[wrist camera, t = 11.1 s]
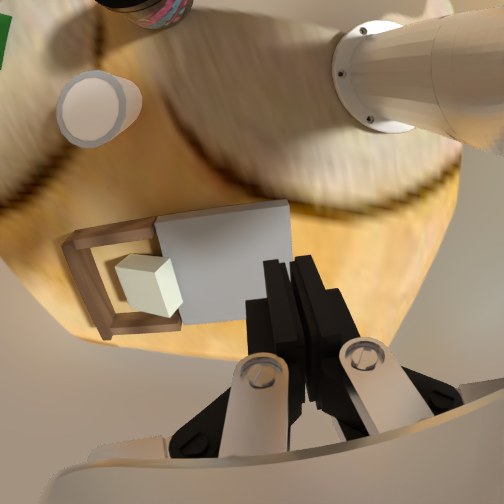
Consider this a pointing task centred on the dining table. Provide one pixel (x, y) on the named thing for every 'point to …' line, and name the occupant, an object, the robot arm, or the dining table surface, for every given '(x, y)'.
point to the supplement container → (150, 11)
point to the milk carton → (3, 34)
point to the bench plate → (224, 256)
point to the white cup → (97, 108)
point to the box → (93, 286)
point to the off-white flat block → (149, 284)
